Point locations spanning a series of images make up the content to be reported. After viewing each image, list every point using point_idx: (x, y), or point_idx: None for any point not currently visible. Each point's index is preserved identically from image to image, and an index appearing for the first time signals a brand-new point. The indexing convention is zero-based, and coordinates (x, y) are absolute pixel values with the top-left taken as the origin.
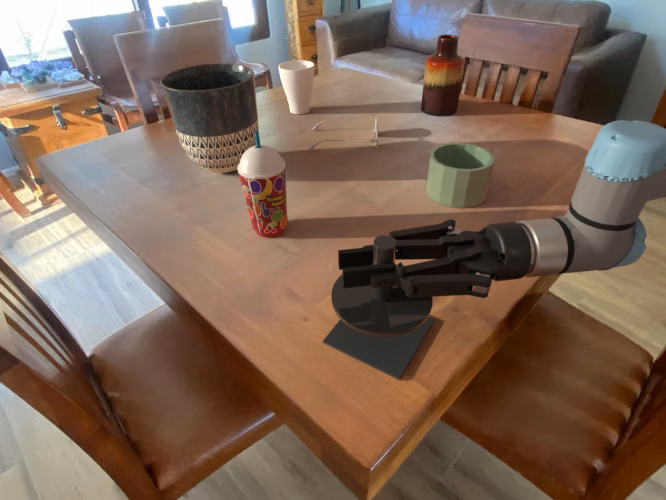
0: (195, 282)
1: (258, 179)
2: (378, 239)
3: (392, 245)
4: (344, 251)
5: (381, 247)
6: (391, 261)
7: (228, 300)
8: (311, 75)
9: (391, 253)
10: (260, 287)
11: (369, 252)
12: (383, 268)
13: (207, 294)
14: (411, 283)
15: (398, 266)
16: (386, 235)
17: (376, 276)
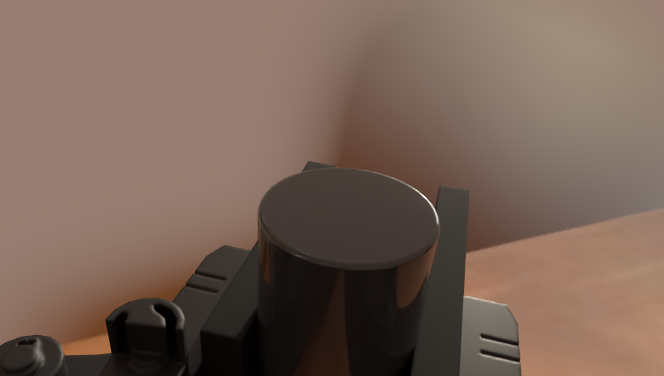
0: (622, 246)
1: None
2: (394, 194)
3: (282, 222)
4: (453, 203)
5: (301, 178)
6: (259, 324)
7: (554, 281)
8: None
9: (258, 257)
10: (607, 348)
11: None
12: (236, 277)
13: (578, 255)
14: (1, 350)
15: (157, 298)
16: (427, 242)
17: (227, 264)
